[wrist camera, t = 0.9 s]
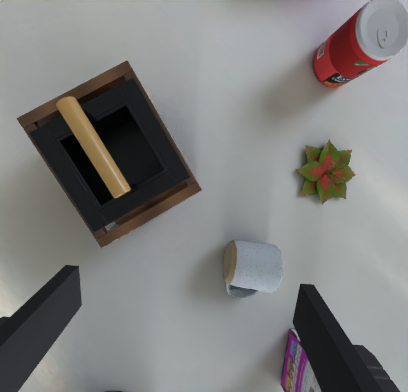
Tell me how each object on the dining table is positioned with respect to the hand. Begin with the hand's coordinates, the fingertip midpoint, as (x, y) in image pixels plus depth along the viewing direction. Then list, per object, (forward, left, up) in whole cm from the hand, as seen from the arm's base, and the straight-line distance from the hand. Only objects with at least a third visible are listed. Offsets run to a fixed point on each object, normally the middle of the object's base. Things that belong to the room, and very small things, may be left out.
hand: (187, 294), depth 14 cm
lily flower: (+27, -6, -27) cm, 39 cm away
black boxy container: (-2, +12, -21) cm, 24 cm away
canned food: (+37, +10, -27) cm, 47 cm away
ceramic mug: (+6, -13, -27) cm, 31 cm away
